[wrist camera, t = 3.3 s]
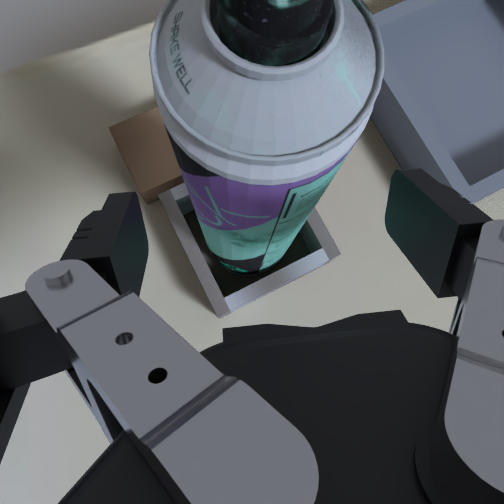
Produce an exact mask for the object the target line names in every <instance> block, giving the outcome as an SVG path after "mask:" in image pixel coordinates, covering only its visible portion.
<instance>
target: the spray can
mask: <svg viewBox="0 0 504 504" xmlns="http://www.w3.org/2000/svg"><path fill="white" fill-rule="evenodd" d="M149 56H150V65H151V74H152V80H153V89H154V97H155V100H156V103H157V106H158V108H159V111H160V114H161V117H162V120H163V123H164V126H165V128H166V131H167V134H168V137H169V140H170V142H171V145H172V148H173V151H174V154H175V156H176V159H177V162H178V165H179V167H180V170H181V173H182V176H183V179H184V181H185V184H186V187H187V190H188V193H189V195H190V198H191V201H192V204H193V207H194V209H195V212H196V215H197V218H198V221H199V223H200V226H201V229H202V232H203V235H204V237H205V240H206V243H207V246H208V249H209V251H210V253H211V255H212V257H213V258H214V260H215V261H216V262H217V263H218V264H219V265H220V266H221V267H223V268H224V269H225V270H227V271H229V272H231V273H233V274H237V275H241V276H253V275H259V274H261V273H264V272H266V271H268V270H270V269H271V268H273V267H274V266H275V265H276V264H277V263H278V262H279V261H280V260H281V258H282V257H283V256H284V254H285V252H286V251H287V249H288V248H289V246H290V245H291V243H292V241H293V240H294V238H295V237H296V235H297V234H298V232H299V230H300V229H301V227H302V226H303V224H304V223H305V221H306V219H307V218H308V216H309V215H310V213H311V212H312V210H313V209H314V207H315V205H316V204H317V202H318V201H319V199H320V198H321V196H322V194H323V193H324V191H325V190H326V188H327V187H328V185H329V183H330V182H331V180H332V179H333V177H334V176H335V174H336V173H337V171H338V169H339V168H340V166H341V165H342V163H343V162H344V160H345V158H346V157H347V155H348V154H349V152H350V151H351V149H352V147H353V146H354V144H355V143H356V141H357V140H358V138H359V137H360V135H361V133H362V132H363V130H364V129H365V126H366V124H367V122H368V120H369V117H370V115H371V113H372V111H373V106H374V102H375V100H376V98H377V96H378V93H379V91H380V89H381V84H382V79H383V74H384V47H383V43H382V39H381V35H380V31H379V28H378V26H377V24H376V22H375V20H374V17H373V15H372V13H371V11H370V10H369V8H368V7H367V6H366V4H365V3H364V2H363V0H166V2H165V4H164V5H163V7H162V8H161V10H160V12H159V13H158V16H157V19H156V21H155V24H154V27H153V30H152V33H151V42H150V50H149Z"/></svg>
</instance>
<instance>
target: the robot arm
mask: <svg viewBox="0 0 504 504" xmlns="http://www.w3.org/2000/svg"><path fill="white" fill-rule="evenodd" d="M385 225H386V230H387V232H388V234H389V235H390V237H391V238H392V239H393V240H394V242H395V243H396V244H397V246H398V247H399V248H400V250H401V251H402V252H403V254H404V255H405V256H406V257H407V259H408V260H409V261H410V263H411V264H412V265H413V267H414V268H415V269H416V270H417V272H418V273H419V274H420V276H421V277H422V278H423V280H424V281H425V282H426V284H427V285H428V286H429V287H430V289H431V290H432V291H433V293H434V294H435V295H436V297H437V298H443V297H453V296H457V297H458V301H457V304H456V307H455V310H454V314H453V318H452V322H451V325H450V329H449V333H448V332H446V331H443V330H440V329H437V328H433V327H429V326H426V325H420V324H415V323H408V321H407V320H406V318H405V316H404V315H403V313H402V312H401V310H393V311H384V312H374V313H365V314H357V315H354V316H351V317H348V318H345V319H341V320H338V321H335V322H332V323H329V324H326V325H323V326H320V327H299V326H287V325H275V324H261V325H251V326H242V327H232V328H223V342H222V343H219V344H216V345H214V346H211V347H209V348H207V349H205V350H203V351H201V352H200V353H199V352H198V351H197V350H196V349H195V348H194V347H192V346H191V345H190V344H189V343H188V342H187V341H186V340H185V339H184V338H183V337H182V336H180V335H179V334H178V333H177V332H176V331H175V330H174V329H173V328H172V327H171V326H170V325H168V324H167V323H166V322H165V321H164V320H163V319H162V318H161V317H160V316H159V315H158V314H156V313H155V312H154V311H153V310H152V309H151V308H150V307H149V306H148V305H147V304H146V303H144V302H143V301H142V300H141V299H140V298H139V295H140V290H141V286H142V281H143V277H144V272H145V268H146V263H147V258H148V239H147V234H146V229H145V225H144V221H143V217H142V212H141V208H140V204H139V200H138V196H137V194H136V192H124V193H112V194H109V195H108V197H107V200H106V202H105V204H104V206H103V208H102V210H99V211H93V212H92V213H90V214H89V215H88V216H86V217H85V218H84V219H83V220H82V221H81V223H80V225H79V226H78V228H77V232H75V234H74V235H73V237H72V239H73V240H71V241H70V243H69V245H68V246H67V248H66V250H65V252H64V254H63V256H62V257H61V259H60V261H57V262H54V263H51V264H48V265H46V266H44V267H42V268H40V269H38V270H37V271H36V272H34V273H33V274H32V275H31V276H30V277H29V278H28V279H27V281H26V284H25V289H26V290H25V291H23V292H20V293H16V294H13V295H9V296H6V297H2V298H0V463H1V461H2V458H3V455H4V453H5V450H6V447H7V445H8V442H9V439H10V437H11V434H12V432H13V429H14V426H15V424H16V421H17V418H18V416H19V413H20V410H21V408H22V405H23V402H24V400H25V397H26V395H27V392H28V389H29V387H30V383H31V382H34V381H36V380H39V379H42V378H45V377H48V376H50V375H53V374H56V373H59V372H61V371H64V370H65V372H66V374H67V375H68V377H69V378H70V380H71V381H72V383H73V384H74V386H75V387H76V389H77V390H78V392H79V393H80V395H81V396H82V398H83V400H84V401H85V403H86V404H87V406H88V407H89V409H90V410H91V412H92V413H93V415H94V416H95V418H96V419H97V421H98V423H99V424H100V426H101V428H102V430H103V432H104V434H105V435H106V437H107V439H108V441H109V443H110V446H109V447H108V448H107V449H106V450H105V451H104V452H103V453H102V455H101V456H100V457H99V458H98V459H97V460H96V461H95V462H94V463H93V465H92V466H91V467H90V468H89V469H88V470H87V471H86V472H85V474H84V475H83V476H82V477H81V478H80V479H79V480H78V481H77V483H76V484H75V485H74V486H73V487H72V488H71V489H70V490H69V492H68V493H67V494H66V495H65V496H64V497H63V498H62V499H61V501H60V502H59V503H58V504H504V220H493V219H491V218H490V217H489V216H488V215H486V214H485V213H484V212H483V211H481V210H480V209H479V208H477V207H476V206H475V205H474V204H471V202H470V201H468V200H467V199H466V198H463V196H462V195H461V194H459V193H458V192H457V191H456V190H454V189H453V188H451V187H449V186H446V185H444V184H441V183H439V182H438V181H436V180H435V179H434V178H433V177H431V176H430V175H429V174H428V173H426V172H425V171H424V170H423V169H421V168H416V169H405V170H396V171H395V172H394V173H393V175H392V178H391V183H390V189H389V195H388V201H387V207H386V213H385Z"/></svg>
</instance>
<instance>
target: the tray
mask: <svg viewBox="0 0 504 504" xmlns="http://www.w3.org/2000/svg"><path fill="white" fill-rule="evenodd" d="M372 15H373V17H374V20H375V22H376V24H377V26H378V28H379V31H380V35H381V39H382V43H383V47H384V74H383V79H382V84H381V89H380V91H379V93H378V96H377V98H376V100H375V102H374V106H373V111H372V113H371V115H370V117H371V119H372V121H373V122H374V124H375V125H376V127H377V129H378V130H379V132H380V134H381V135H382V137H383V138H384V140H385V142H386V143H387V145H388V147H389V148H390V150H391V151H392V153H393V155H394V156H395V158H396V160H397V161H398V163H399V164H400V166H401V168H402V169H403V170H405V169H416V168H421V169H423V170H424V171H425V172H426V173H428V174H429V175H430V176H431V177H433V178H434V179H435V180H436V181H438V182H439V183H441V184H444V185H446V186H449V187H451V188H453V189H454V190H456V191H457V192H458V193H459V194H461V195H462V196H463V198H466V199H467V200H468V201H470V202H471V204H473V203H475V202H477V201H479V200H481V199H483V198H485V197H487V196H489V195H490V194H492V193H494V192H496V191H498V190H500V189H502V188H504V0H405V1H403V2H400V3H398V4H396V5H393V6H391V7H389V8H386V9H384V10H382V11H379V12H377V13H375V14H372Z"/></svg>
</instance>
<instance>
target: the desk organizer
mask: <svg viewBox="0 0 504 504" xmlns="http://www.w3.org/2000/svg"><path fill="white" fill-rule="evenodd" d="M109 130H110V132H111V134H112V136H113V138H114V140H115V142H116V144H117V146H118V148H119V150H120V152H121V154H122V156H123V159H124V161H125V163H126V165H127V167H128V169H129V171H130V173H131V175H132V177H133V179H134V181H135V183H136V185H137V188H138V190H139V192H140V194H141V195H142V197H143V198H144V199H145V201H146V202H147V204H149V203H151V202H153V201H155V200H157V199H160V201H161V203H162V205H163V207H164V209H165V211H166V213H167V215H168V217H169V219H170V221H171V223H172V225H173V227H174V229H175V231H176V233H177V235H178V237H179V239H180V241H181V244H182V246H183V248H184V250H185V252H186V254H187V256H188V258H189V260H190V262H191V264H192V266H193V268H194V270H195V272H196V274H197V276H198V278H199V280H200V282H201V284H202V286H203V288H204V290H205V292H206V295H207V297H208V299H209V301H210V303H211V305H212V307H213V309H214V311H215V313H216V315H217V317H218V318H222V317H224V316H226V315H228V314H230V313H232V312H233V311H235V310H237V309H239V308H241V307H243V306H245V305H247V304H249V303H251V302H253V301H255V300H257V299H259V298H261V297H263V296H265V295H266V294H268V293H270V292H272V291H274V290H276V289H278V288H280V287H282V286H284V285H286V284H288V283H290V282H292V281H294V280H296V279H298V278H300V277H301V276H303V275H305V274H307V273H309V272H311V271H313V270H315V269H317V268H319V267H321V266H323V265H325V264H327V263H329V262H330V261H332V260H333V259H334V258H336V257H337V256H339V255H340V254H341V253H340V251H339V249H338V248H337V246H336V244H335V242H334V240H333V239H332V237H331V235H330V233H329V232H328V230H327V228H326V226H325V224H324V223H323V221H322V219H321V217H320V216H319V214H318V212H317V210H316V208H315V207H314V209H313V210H312V212H311V213H310V215H309V216H308V218H307V219H306V221H305V223H304V224H303V226H302V227H301V229H300V230H299V233H300V235H301V236H302V238H303V240H304V242H305V244H306V246H307V247H308V249H309V251H310V253H311V254H310V255H308V256H306V257H304V258H302V259H300V260H298V261H296V262H294V263H292V264H290V265H288V266H286V267H284V268H282V269H280V270H278V271H276V272H274V273H272V274H270V275H268V276H266V277H264V278H262V279H260V280H258V281H257V282H255V283H253V284H251V285H249V286H247V287H245V288H243V289H241V290H239V291H237V292H235V293H233V294H231V295H229V296H227V297H225V298H224V297H223V295H222V293H221V291H220V289H219V287H218V285H217V283H216V281H215V279H214V277H213V275H212V273H211V271H210V269H209V267H208V265H207V263H206V261H205V259H204V257H203V255H202V253H201V251H200V249H199V247H198V245H197V243H196V241H195V239H194V237H193V235H192V233H191V231H190V229H189V227H188V225H187V223H186V221H185V219H184V217H183V215H184V214H186V213H188V212H190V211H192V210H194V207H193V204H192V201H191V198H190V195H189V193H188V190H187V187H186V184H185V181H184V179H183V176H182V173H181V170H180V167H179V165H178V162H177V159H176V156H175V154H174V151H173V148H172V145H171V142H170V140H169V137H168V134H167V131H166V128H165V126H164V123H163V120H162V117H161V114H160V111H159V108H158V107H156V108H153V109H151V110H149V111H146V112H144V113H142V114H139V115H137V116H135V117H132V118H130V119H128V120H125V121H123V122H121V123H118V124H116V125H114V126H111V127H109Z"/></svg>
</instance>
